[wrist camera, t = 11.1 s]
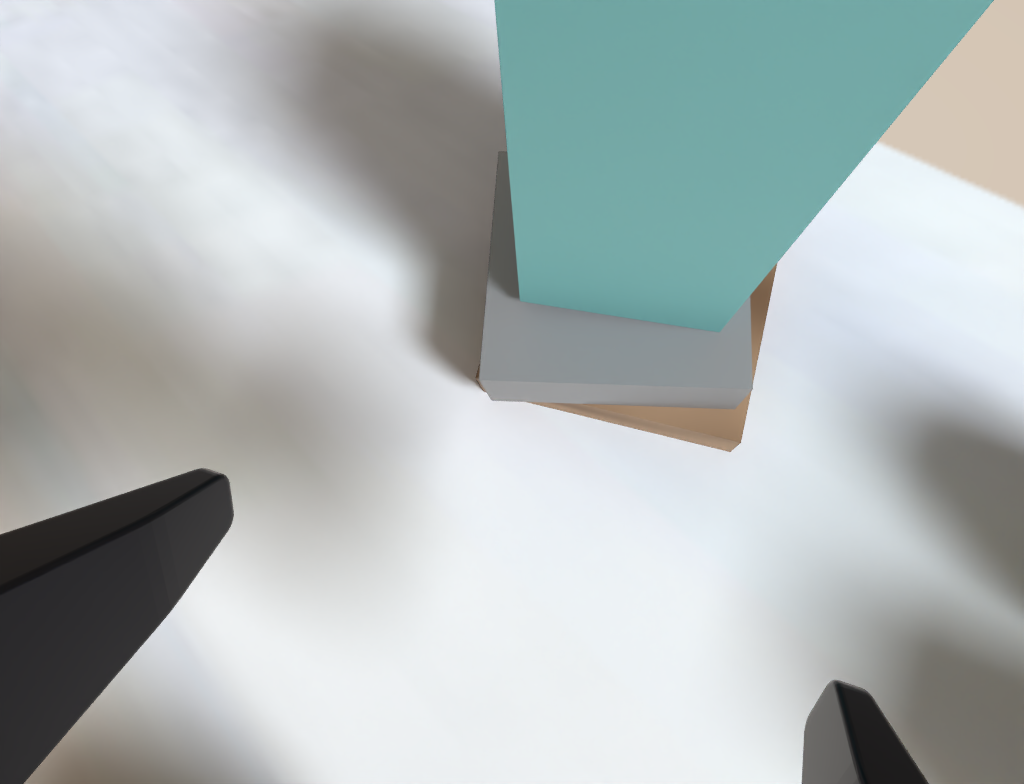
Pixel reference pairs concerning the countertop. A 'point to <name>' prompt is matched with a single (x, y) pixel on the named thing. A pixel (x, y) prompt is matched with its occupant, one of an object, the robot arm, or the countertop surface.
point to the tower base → (687, 422)
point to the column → (694, 137)
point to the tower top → (599, 345)
